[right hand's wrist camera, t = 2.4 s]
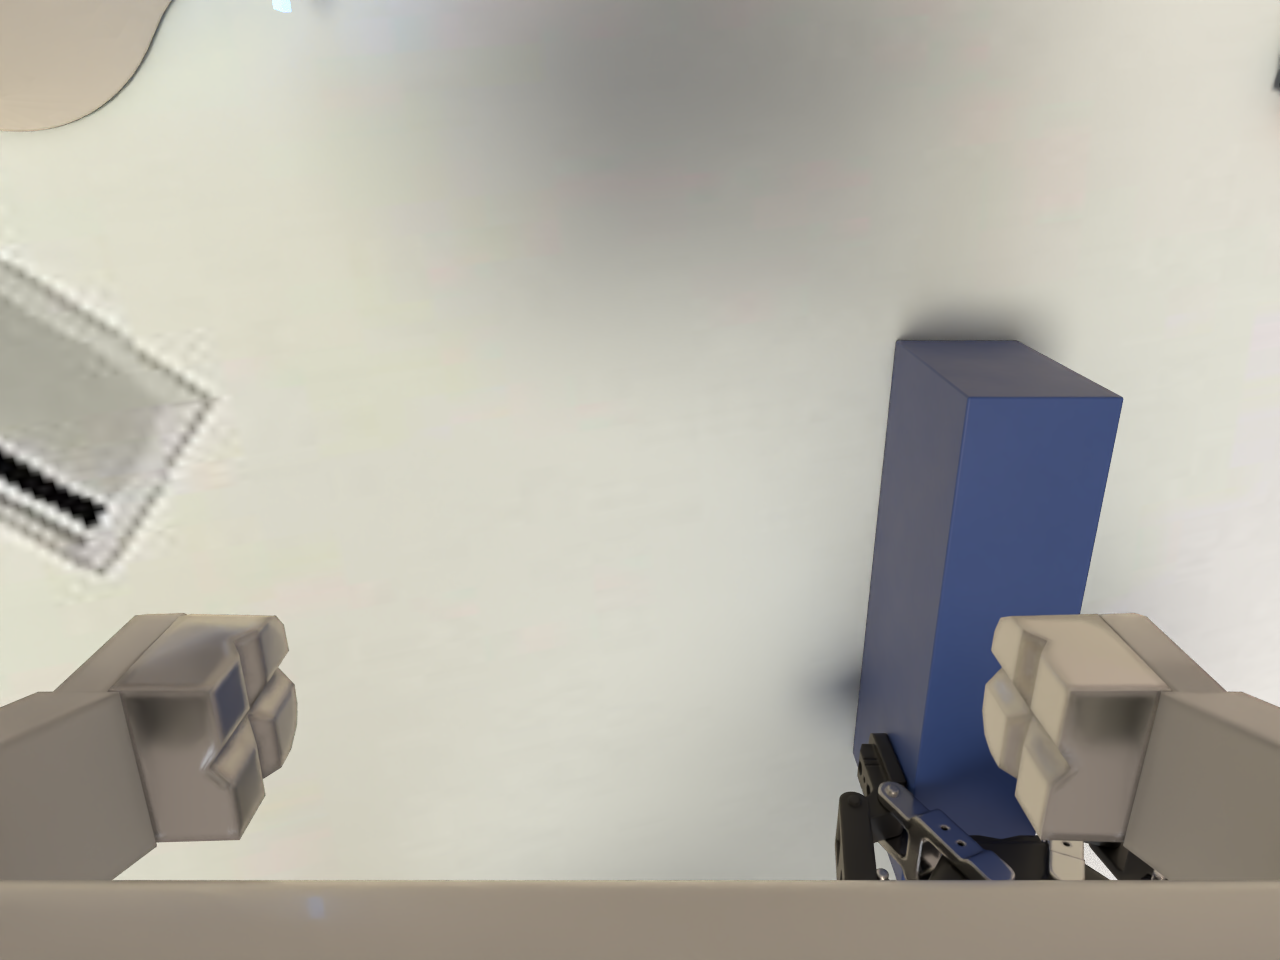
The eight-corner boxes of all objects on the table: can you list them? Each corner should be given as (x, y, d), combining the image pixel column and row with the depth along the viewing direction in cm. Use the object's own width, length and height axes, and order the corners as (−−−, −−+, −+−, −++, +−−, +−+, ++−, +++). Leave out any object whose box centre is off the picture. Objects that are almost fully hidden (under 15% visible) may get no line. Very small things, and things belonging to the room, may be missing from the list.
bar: (895, 340, 40) (968, 397, 31) (1018, 340, 40) (1124, 397, 31) (852, 752, 48) (900, 891, 40) (954, 752, 48) (1024, 891, 40)
